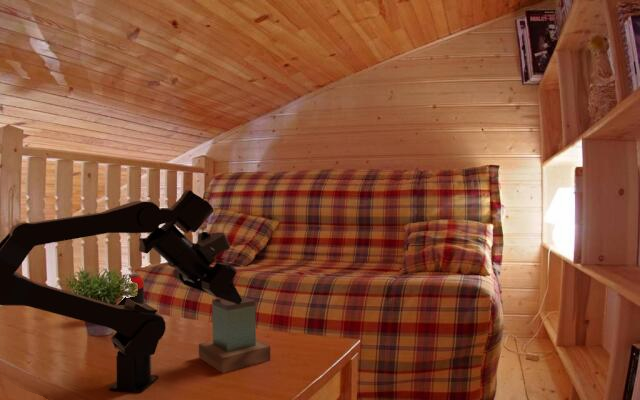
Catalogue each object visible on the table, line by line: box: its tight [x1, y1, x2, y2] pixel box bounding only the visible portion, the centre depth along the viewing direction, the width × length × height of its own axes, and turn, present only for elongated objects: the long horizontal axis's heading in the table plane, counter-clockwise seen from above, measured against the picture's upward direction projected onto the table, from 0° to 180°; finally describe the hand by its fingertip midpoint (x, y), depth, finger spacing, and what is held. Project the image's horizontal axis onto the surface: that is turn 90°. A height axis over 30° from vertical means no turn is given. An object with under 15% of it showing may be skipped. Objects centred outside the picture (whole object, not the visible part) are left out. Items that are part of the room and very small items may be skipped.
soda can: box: [118, 273, 145, 305], centre depth 130 cm, size 8×8×12 cm
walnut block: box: [198, 339, 271, 374], centre depth 97 cm, size 11×11×3 cm
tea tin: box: [211, 295, 257, 353], centre depth 97 cm, size 7×7×10 cm
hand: (229, 298), depth 97 cm, fingers open, 9 cm apart
